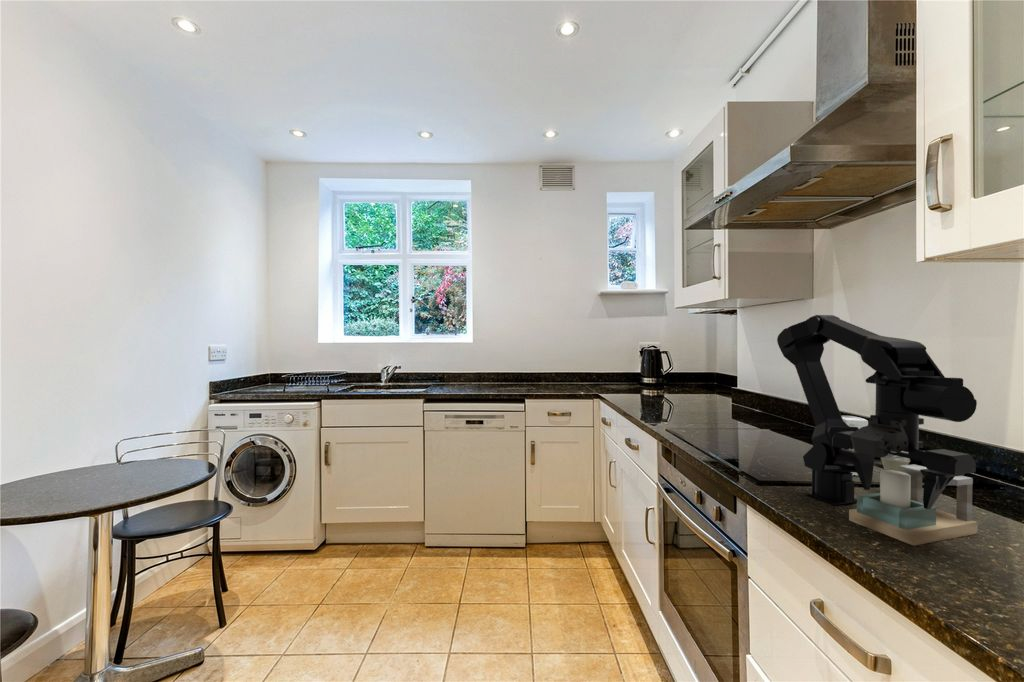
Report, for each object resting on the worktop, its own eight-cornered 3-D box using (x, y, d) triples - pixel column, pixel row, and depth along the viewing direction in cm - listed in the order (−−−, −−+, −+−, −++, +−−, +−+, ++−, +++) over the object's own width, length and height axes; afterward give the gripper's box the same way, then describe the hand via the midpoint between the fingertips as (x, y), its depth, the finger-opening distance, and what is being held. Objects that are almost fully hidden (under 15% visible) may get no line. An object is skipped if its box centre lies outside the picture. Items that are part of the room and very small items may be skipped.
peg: (874, 514, 76) (874, 470, 76) (889, 512, 77) (890, 469, 77) (900, 524, 72) (900, 477, 72) (915, 521, 73) (916, 475, 73)
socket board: (849, 520, 78) (849, 469, 78) (909, 511, 83) (909, 463, 83) (913, 545, 69) (914, 487, 69) (977, 533, 73) (978, 479, 73)
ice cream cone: (906, 494, 93) (907, 426, 93) (912, 501, 88) (913, 430, 88) (877, 489, 95) (878, 423, 95) (881, 496, 91) (882, 427, 91)
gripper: (811, 404, 81) (810, 485, 81) (932, 423, 63) (930, 526, 63) (853, 402, 84) (851, 480, 84) (978, 420, 67) (977, 518, 67)
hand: (895, 498), depth 75 cm, fingers open, 9 cm apart
